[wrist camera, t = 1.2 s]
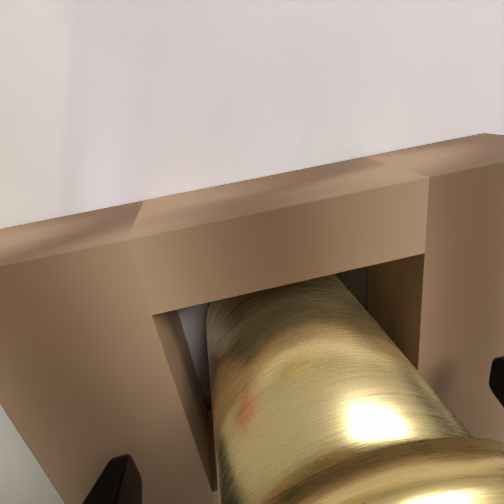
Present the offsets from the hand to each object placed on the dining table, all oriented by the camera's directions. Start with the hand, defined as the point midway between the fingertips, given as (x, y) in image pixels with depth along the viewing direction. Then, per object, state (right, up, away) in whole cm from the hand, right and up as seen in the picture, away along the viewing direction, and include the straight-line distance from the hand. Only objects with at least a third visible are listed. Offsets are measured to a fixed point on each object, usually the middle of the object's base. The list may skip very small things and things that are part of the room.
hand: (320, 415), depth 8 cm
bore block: (-1, +2, +4) cm, 4 cm away
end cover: (-1, +2, +4) cm, 4 cm away
